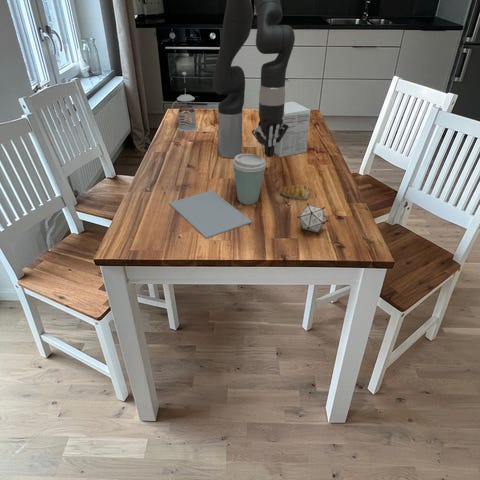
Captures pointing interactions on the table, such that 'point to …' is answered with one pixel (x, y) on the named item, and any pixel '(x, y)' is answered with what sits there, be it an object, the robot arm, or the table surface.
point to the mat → (210, 213)
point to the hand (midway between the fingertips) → (269, 156)
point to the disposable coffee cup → (248, 176)
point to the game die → (312, 218)
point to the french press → (186, 113)
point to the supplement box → (294, 130)
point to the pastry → (296, 192)
